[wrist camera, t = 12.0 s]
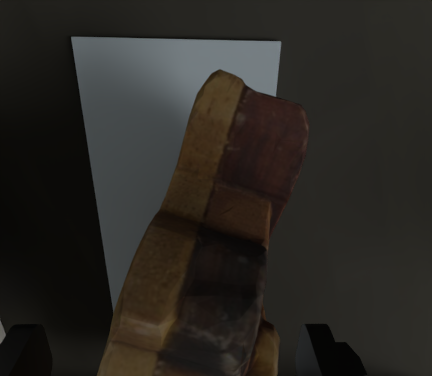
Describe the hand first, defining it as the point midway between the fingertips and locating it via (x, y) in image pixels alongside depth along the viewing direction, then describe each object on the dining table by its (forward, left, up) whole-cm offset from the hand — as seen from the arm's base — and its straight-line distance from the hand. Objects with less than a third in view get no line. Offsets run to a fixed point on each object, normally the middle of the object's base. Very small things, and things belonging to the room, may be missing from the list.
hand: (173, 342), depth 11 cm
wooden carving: (0, 0, -5) cm, 5 cm away
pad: (0, 0, -5) cm, 5 cm away
